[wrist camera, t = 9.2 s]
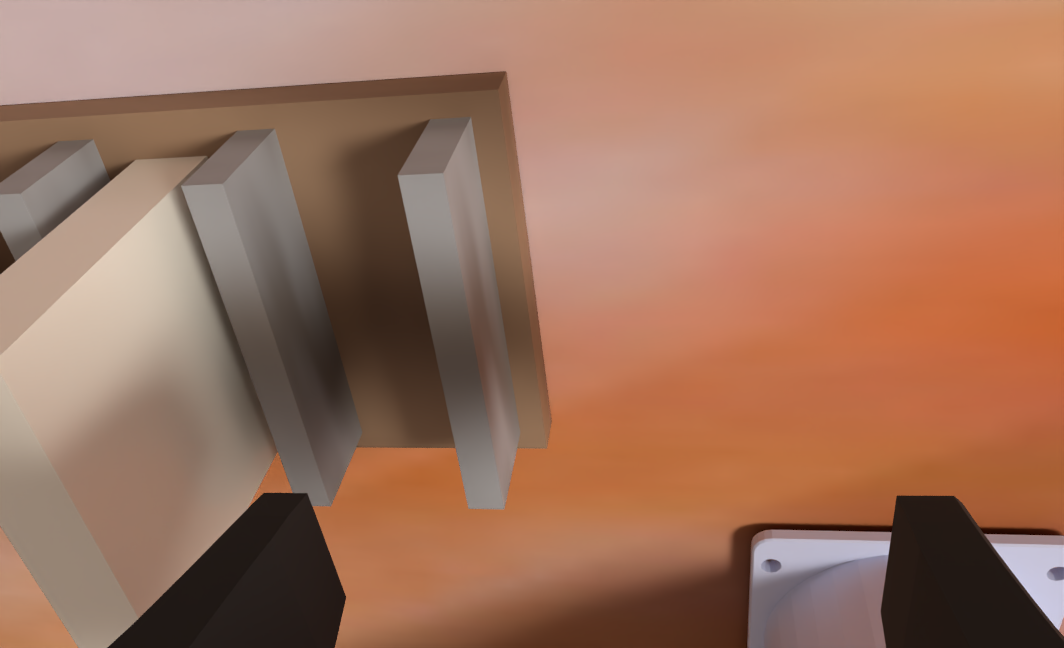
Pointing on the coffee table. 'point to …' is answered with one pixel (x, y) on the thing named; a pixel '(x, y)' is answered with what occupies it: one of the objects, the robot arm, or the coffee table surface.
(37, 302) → the upright cream panel
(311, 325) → the dish rack
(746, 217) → the coffee table surface
